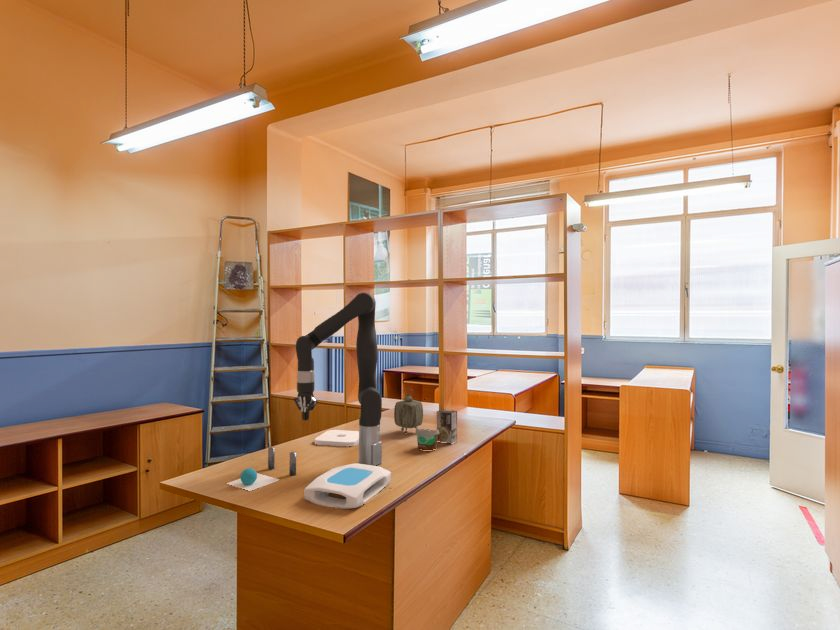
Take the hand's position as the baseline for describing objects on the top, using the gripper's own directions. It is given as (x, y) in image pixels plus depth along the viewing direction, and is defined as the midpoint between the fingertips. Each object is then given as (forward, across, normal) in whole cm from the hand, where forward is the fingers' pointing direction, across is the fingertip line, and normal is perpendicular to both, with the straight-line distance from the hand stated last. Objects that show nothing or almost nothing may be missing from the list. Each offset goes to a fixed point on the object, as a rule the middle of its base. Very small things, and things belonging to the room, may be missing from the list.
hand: (305, 420), depth 198 cm
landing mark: (+19, 0, +27) cm, 33 cm away
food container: (+19, -34, -46) cm, 60 cm away
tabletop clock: (+19, -9, -68) cm, 71 cm away
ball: (+16, 0, +30) cm, 34 cm away
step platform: (+20, -38, +14) cm, 45 cm away
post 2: (+19, -6, +13) cm, 24 cm away
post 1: (+19, +7, +13) cm, 24 cm away
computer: (+20, +12, -37) cm, 44 cm away
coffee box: (+19, -36, -64) cm, 76 cm away
